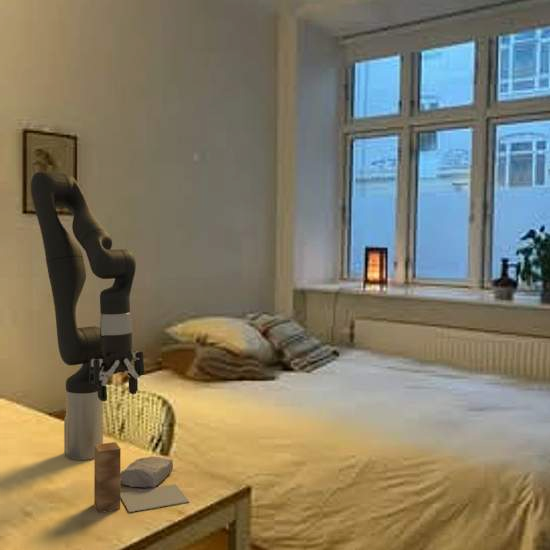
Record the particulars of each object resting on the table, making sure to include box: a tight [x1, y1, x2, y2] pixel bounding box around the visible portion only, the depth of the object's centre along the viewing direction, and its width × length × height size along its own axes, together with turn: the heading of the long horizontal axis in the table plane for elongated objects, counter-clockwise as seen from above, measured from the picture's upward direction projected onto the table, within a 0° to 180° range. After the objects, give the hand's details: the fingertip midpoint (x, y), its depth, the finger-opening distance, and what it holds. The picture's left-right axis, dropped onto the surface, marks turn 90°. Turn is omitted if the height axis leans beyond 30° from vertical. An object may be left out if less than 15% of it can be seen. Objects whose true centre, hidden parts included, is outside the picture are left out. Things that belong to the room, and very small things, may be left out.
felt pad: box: [120, 483, 190, 514], centre depth 139 cm, size 13×10×1 cm
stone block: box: [120, 455, 174, 489], centre depth 150 cm, size 12×5×10 cm
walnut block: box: [93, 441, 122, 514], centre depth 134 cm, size 4×4×13 cm
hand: (118, 397), depth 156 cm, fingers open, 8 cm apart
